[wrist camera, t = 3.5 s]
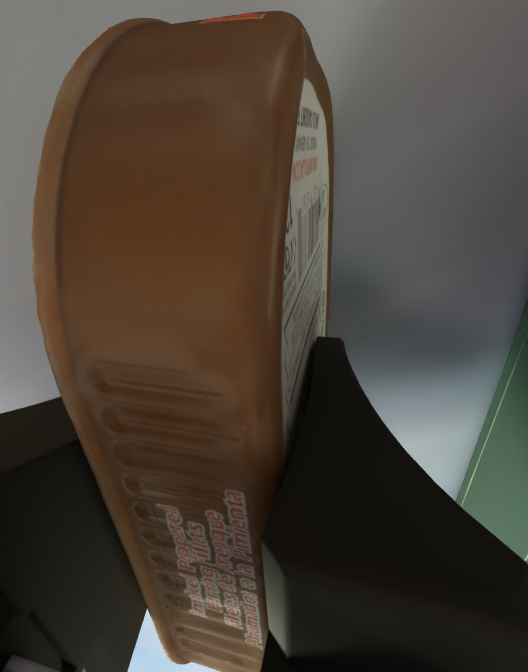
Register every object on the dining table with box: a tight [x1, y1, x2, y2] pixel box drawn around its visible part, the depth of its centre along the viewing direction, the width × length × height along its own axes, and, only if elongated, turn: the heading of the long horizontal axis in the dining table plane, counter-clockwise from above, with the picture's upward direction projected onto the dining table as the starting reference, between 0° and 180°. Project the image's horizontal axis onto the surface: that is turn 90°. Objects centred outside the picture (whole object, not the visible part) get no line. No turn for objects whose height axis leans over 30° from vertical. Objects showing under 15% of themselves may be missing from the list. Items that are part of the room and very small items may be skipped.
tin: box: [32, 11, 334, 672], centre depth 9 cm, size 15×3×8 cm, turn 2°
